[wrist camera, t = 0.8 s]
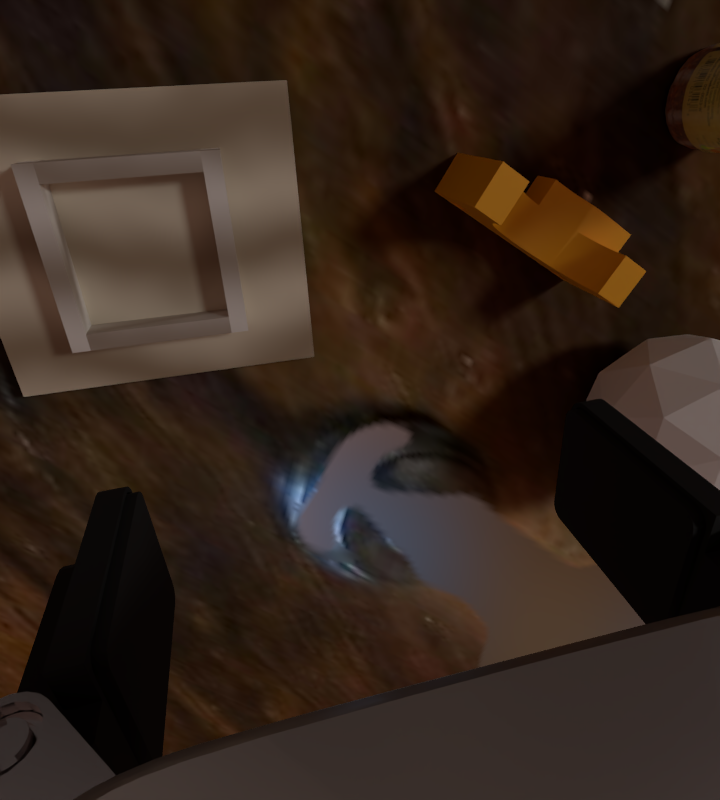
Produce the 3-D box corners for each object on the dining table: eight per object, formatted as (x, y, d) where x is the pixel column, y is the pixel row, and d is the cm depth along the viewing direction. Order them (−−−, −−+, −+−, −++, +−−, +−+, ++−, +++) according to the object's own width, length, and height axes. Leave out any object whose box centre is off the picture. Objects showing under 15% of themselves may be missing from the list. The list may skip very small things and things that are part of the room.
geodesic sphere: (677, 256, 41) (877, 320, 28) (728, 382, 48) (905, 478, 35) (513, 382, 43) (633, 494, 30) (585, 485, 50) (706, 610, 37)
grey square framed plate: (-83, 99, 27) (-110, 98, 25) (284, 80, 30) (290, 78, 28) (28, 389, 34) (15, 409, 32) (312, 351, 38) (317, 366, 35)
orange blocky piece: (601, 225, 38) (665, 245, 33) (562, 279, 40) (618, 307, 34) (472, 125, 33) (523, 128, 28) (433, 191, 35) (474, 207, 29)
